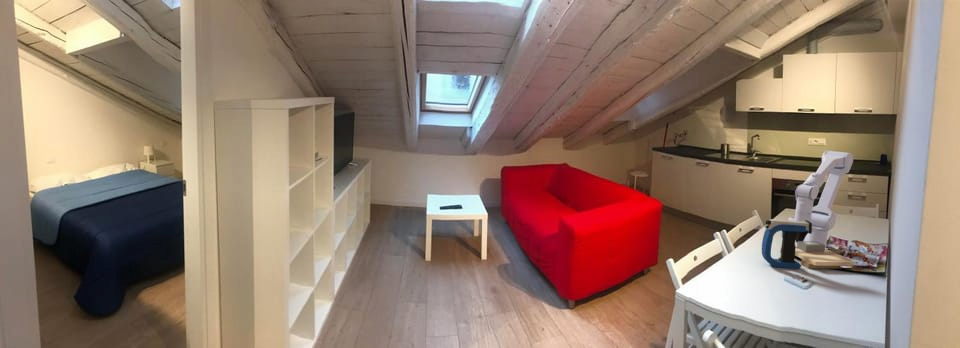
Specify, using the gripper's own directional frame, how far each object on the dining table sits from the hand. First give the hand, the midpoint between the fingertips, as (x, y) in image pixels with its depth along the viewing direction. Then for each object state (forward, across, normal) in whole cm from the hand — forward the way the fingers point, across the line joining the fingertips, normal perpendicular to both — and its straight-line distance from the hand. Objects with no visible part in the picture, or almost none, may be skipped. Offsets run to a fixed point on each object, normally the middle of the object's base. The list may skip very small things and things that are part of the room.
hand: (799, 242), depth 199 cm
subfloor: (+4, +10, 0) cm, 11 cm away
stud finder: (+1, +7, 0) cm, 7 cm away
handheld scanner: (+5, +16, -18) cm, 25 cm away
